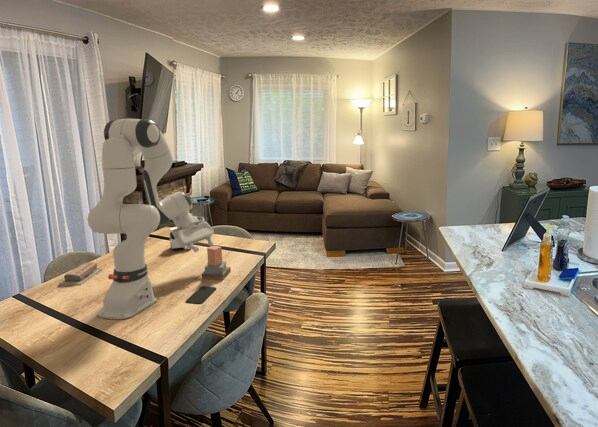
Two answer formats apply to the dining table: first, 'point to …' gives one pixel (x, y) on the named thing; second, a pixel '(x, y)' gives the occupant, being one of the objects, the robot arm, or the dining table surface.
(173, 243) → the spread jar
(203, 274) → the walnut slab
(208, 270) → the slate slab
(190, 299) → the phone
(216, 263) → the terracotta block
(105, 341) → the dining table surface
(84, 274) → the packaged product
